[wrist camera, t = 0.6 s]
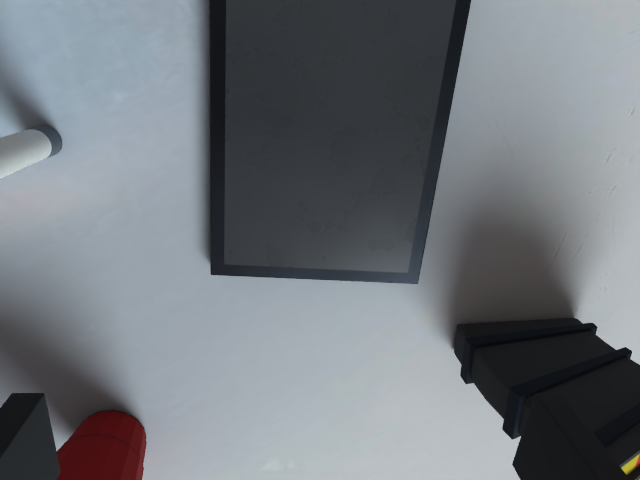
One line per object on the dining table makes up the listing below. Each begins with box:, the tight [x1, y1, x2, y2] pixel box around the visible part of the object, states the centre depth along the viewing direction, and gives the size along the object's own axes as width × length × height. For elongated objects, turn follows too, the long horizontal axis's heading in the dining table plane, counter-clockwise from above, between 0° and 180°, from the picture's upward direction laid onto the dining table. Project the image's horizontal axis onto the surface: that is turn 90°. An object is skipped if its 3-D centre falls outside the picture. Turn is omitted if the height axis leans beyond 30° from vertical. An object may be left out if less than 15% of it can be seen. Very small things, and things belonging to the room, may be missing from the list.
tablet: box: [209, 0, 471, 284], centre depth 31 cm, size 22×16×1 cm
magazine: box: [454, 318, 640, 480], centre depth 34 cm, size 4×13×15 cm, turn 91°
